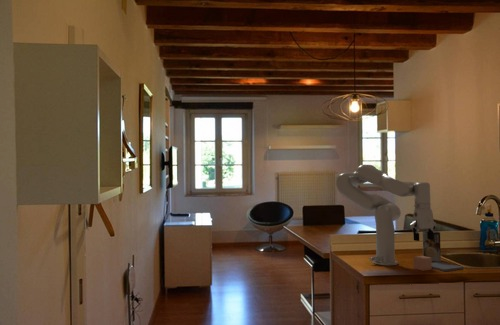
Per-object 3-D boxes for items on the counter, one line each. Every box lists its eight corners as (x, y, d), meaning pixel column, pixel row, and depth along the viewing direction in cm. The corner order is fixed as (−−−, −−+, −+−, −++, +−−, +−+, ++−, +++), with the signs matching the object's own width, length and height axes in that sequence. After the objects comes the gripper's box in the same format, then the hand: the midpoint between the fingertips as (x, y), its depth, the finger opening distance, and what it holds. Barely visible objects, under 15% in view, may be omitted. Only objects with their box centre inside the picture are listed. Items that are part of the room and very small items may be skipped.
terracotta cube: (422, 270, 219) (422, 258, 220) (413, 268, 225) (413, 256, 225) (431, 269, 222) (431, 257, 222) (422, 267, 227) (422, 255, 228)
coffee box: (440, 260, 246) (439, 231, 246) (440, 262, 240) (440, 232, 240) (422, 258, 249) (422, 230, 249) (422, 261, 243) (422, 232, 243)
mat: (444, 271, 217) (444, 269, 217) (422, 265, 230) (422, 264, 230) (463, 268, 224) (463, 266, 224) (440, 263, 236) (440, 261, 236)
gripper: (415, 207, 217) (416, 242, 216) (440, 206, 224) (441, 239, 224) (404, 206, 224) (405, 240, 223) (428, 205, 231) (429, 237, 230)
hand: (423, 240), depth 223 cm, fingers open, 9 cm apart
